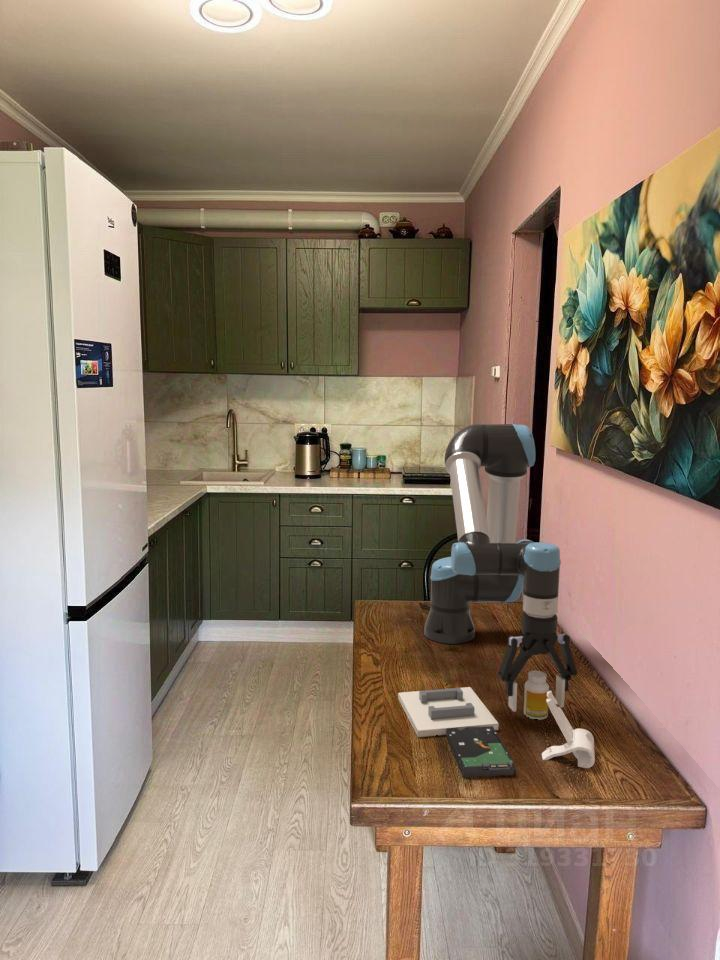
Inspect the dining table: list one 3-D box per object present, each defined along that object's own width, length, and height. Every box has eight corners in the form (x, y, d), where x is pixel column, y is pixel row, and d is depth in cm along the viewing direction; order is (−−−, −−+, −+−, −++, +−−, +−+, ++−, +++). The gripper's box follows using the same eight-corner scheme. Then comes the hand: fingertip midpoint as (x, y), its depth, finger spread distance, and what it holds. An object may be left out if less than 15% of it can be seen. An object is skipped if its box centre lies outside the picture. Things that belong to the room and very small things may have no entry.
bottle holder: (398, 698, 157) (398, 684, 157) (470, 692, 160) (470, 679, 160) (417, 737, 139) (418, 721, 139) (498, 729, 143) (498, 714, 142)
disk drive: (444, 740, 140) (462, 780, 125) (445, 727, 139) (463, 766, 125) (492, 737, 141) (515, 777, 126) (492, 725, 140) (516, 763, 126)
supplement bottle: (552, 719, 147) (554, 678, 146) (529, 721, 146) (531, 679, 145) (541, 708, 152) (543, 668, 151) (519, 710, 152) (521, 669, 150)
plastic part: (594, 770, 128) (597, 714, 126) (541, 760, 131) (544, 705, 129) (593, 750, 135) (596, 696, 133) (543, 741, 138) (546, 689, 136)
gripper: (496, 621, 141) (493, 718, 143) (596, 615, 145) (591, 710, 148) (484, 610, 148) (481, 702, 151) (579, 604, 152) (575, 695, 155)
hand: (536, 706), depth 149 cm, fingers open, 11 cm apart
